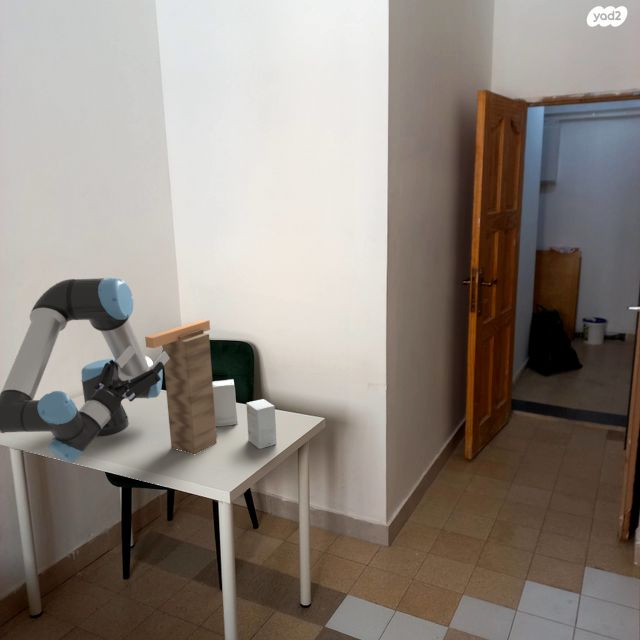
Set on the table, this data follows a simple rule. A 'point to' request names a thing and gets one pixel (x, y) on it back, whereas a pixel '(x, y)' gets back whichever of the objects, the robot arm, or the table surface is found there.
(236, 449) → the table surface
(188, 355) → the post
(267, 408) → the small box
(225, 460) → the table surface
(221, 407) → the skincare box
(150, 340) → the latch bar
